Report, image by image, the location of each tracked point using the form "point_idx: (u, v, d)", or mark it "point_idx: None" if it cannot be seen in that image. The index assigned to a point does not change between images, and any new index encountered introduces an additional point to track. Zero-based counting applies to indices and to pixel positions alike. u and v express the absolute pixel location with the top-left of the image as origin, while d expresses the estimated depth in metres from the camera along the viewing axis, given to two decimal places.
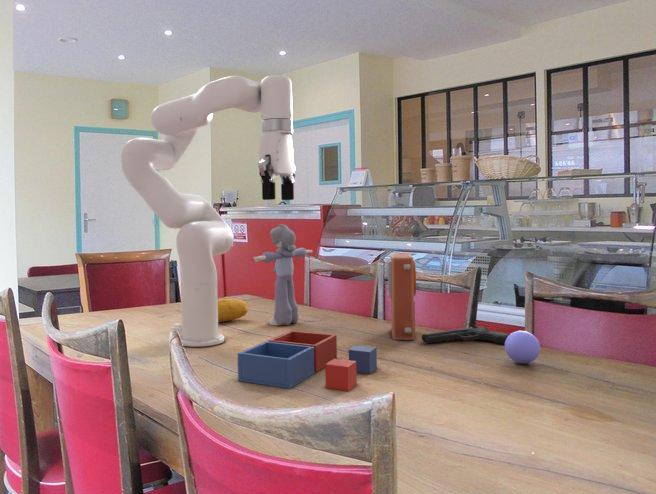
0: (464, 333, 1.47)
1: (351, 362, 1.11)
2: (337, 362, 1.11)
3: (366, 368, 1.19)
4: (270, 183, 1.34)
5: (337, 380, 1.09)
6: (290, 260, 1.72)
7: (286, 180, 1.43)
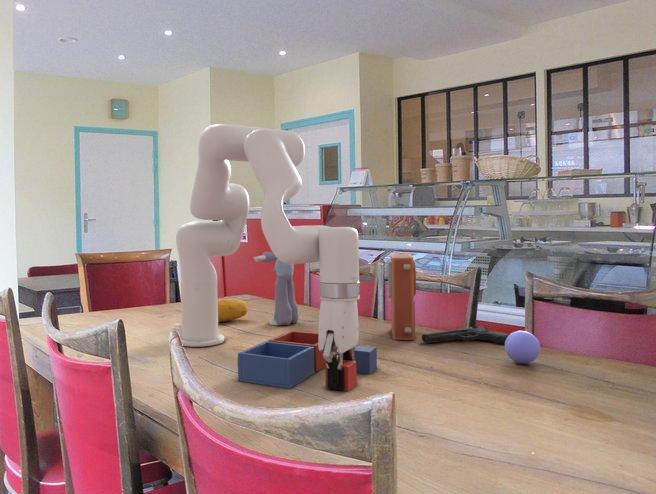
0: (464, 333, 1.47)
1: (351, 362, 1.11)
2: None
3: (366, 368, 1.19)
4: (338, 370, 1.08)
5: None
6: None
7: (345, 355, 1.14)
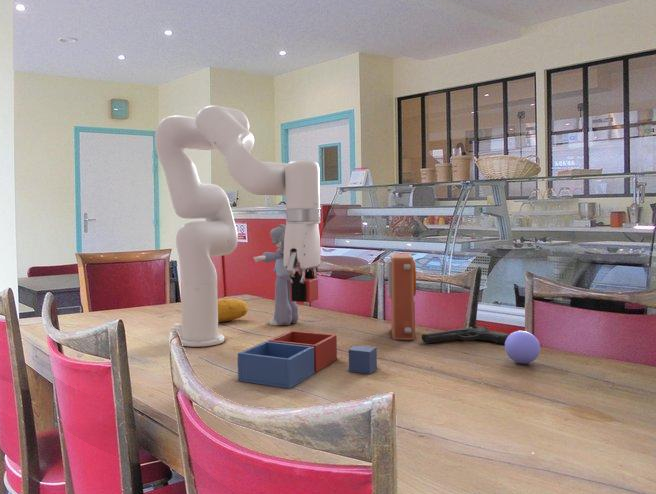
0: (464, 333, 1.47)
1: (313, 279, 1.27)
2: None
3: (366, 368, 1.19)
4: (301, 284, 1.24)
5: None
6: None
7: (308, 275, 1.30)
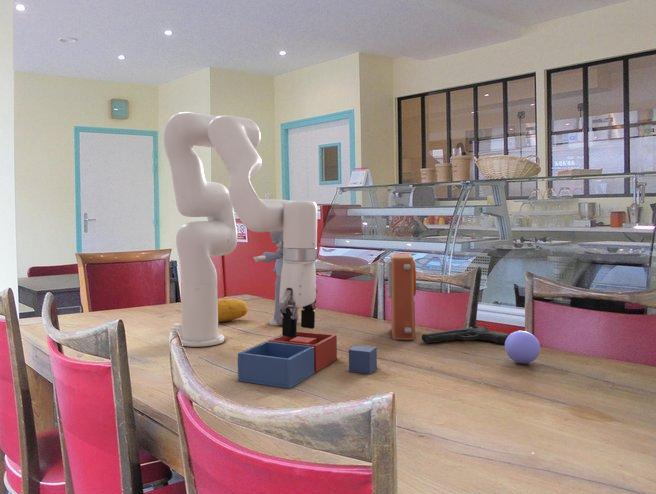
0: (464, 333, 1.47)
1: (311, 339, 1.29)
2: (299, 339, 1.29)
3: (366, 368, 1.19)
4: (291, 320, 1.24)
5: None
6: None
7: (307, 306, 1.34)
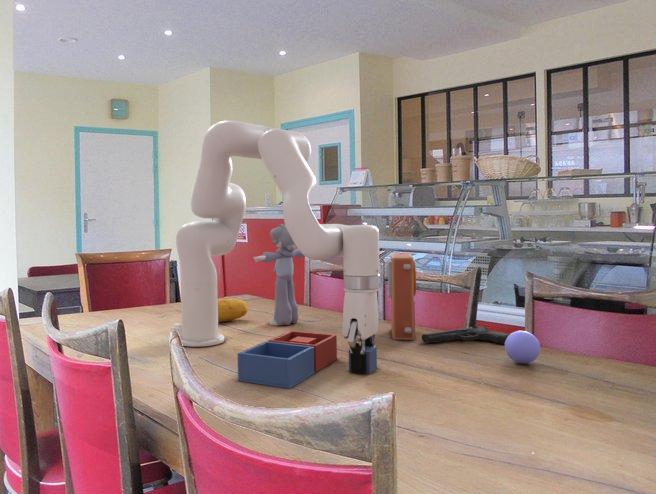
0: (464, 333, 1.47)
1: (311, 339, 1.29)
2: (299, 339, 1.29)
3: (366, 368, 1.19)
4: (361, 355, 1.19)
5: None
6: (290, 260, 1.72)
7: (366, 342, 1.25)
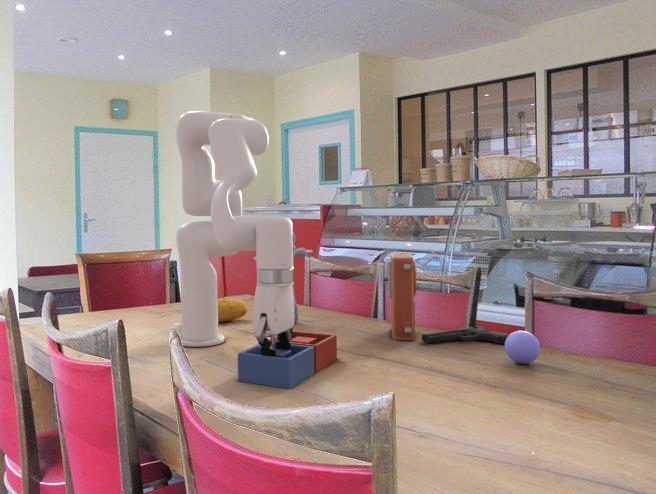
0: (464, 333, 1.47)
1: (311, 339, 1.29)
2: (299, 339, 1.29)
3: None
4: (270, 351, 1.14)
5: None
6: None
7: (282, 337, 1.21)
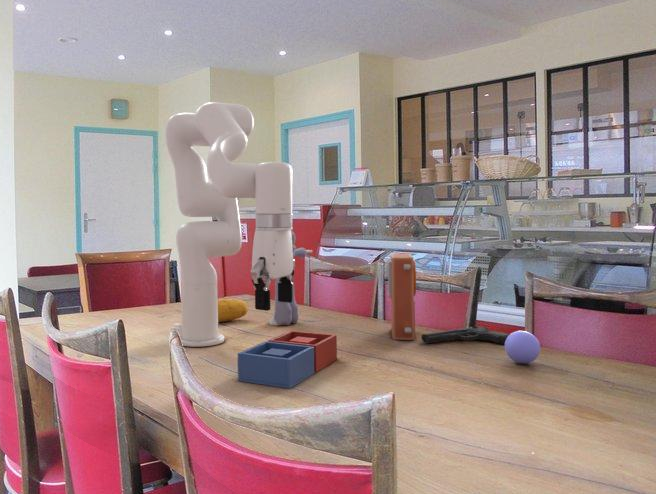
0: (464, 333, 1.47)
1: (311, 339, 1.29)
2: (299, 339, 1.29)
3: None
4: (264, 291, 1.13)
5: None
6: None
7: (284, 279, 1.23)
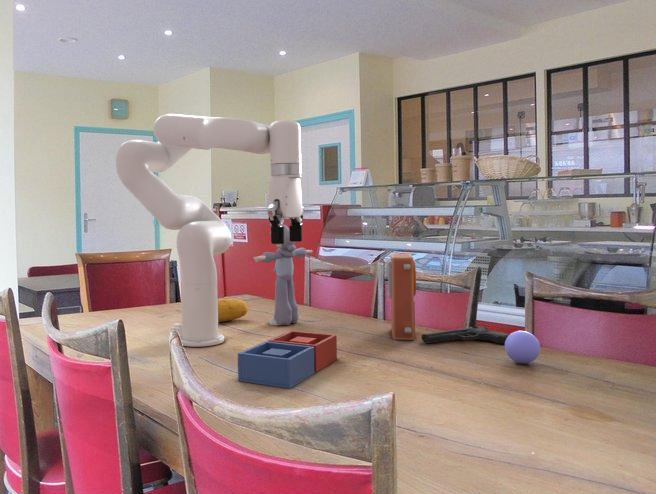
0: (464, 333, 1.47)
1: (311, 339, 1.29)
2: (299, 339, 1.29)
3: None
4: (279, 228, 1.35)
5: None
6: (290, 260, 1.72)
7: (294, 222, 1.45)
